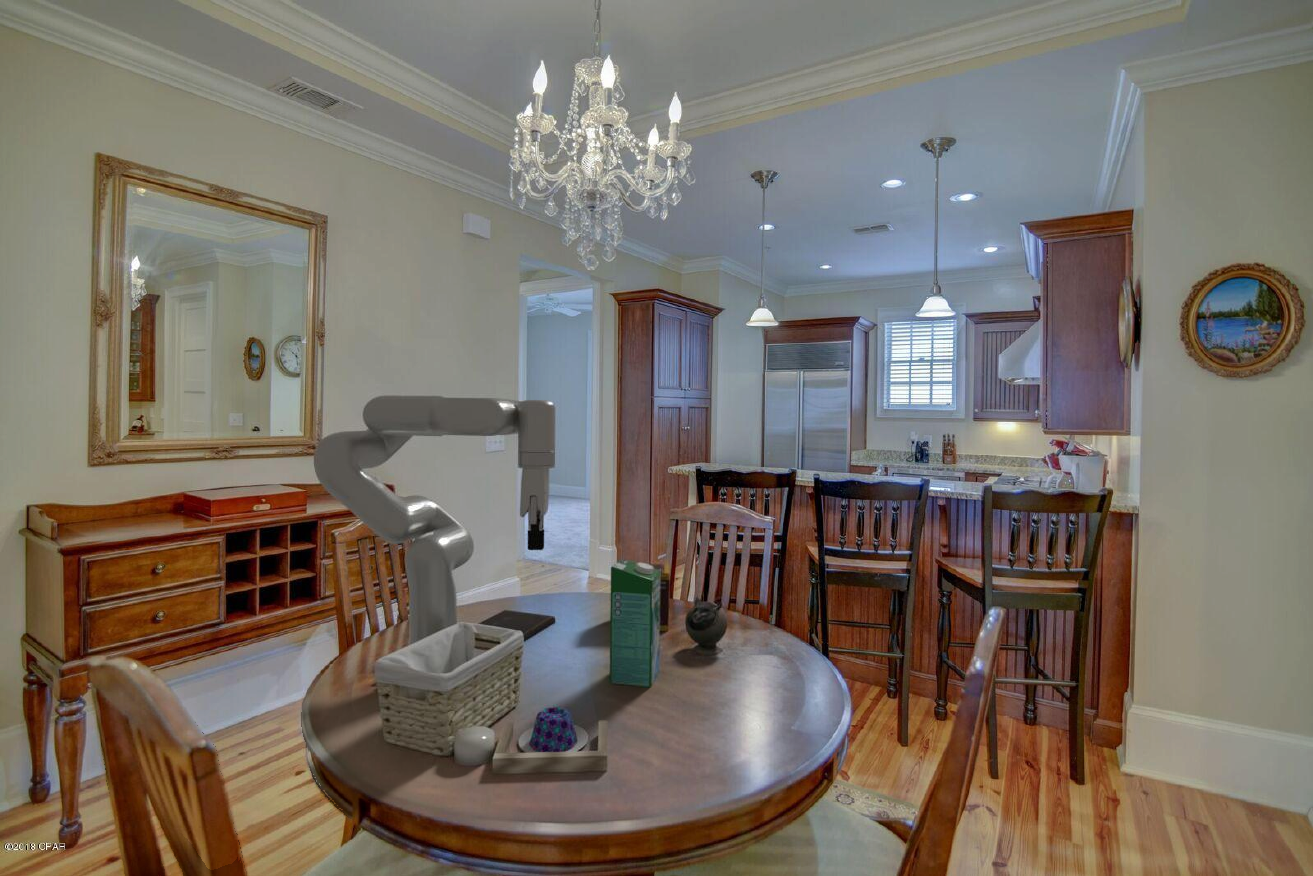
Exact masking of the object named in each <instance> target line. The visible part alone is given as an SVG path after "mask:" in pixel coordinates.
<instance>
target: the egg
mask: <svg viewBox="0 0 1313 876" xmlns="http://www.w3.org/2000/svg"><path fill="white" fill-rule="evenodd" d="M494 753H495V731H494V730H493V729H491V728H490V727H489V726H488V727H481V726H478V727H470V728H466V729H464V730H461V731H460V732H458V733H457V734H456V735H455V737H454V752H453V759H454V762H455V763H456V764H457V765H459V766H461V767H476V766H477V767H478V766H480V765H484V764H486V763H488V762H489V761H491V760H493V756H494Z"/></svg>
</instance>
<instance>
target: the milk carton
mask: <svg viewBox="0 0 1313 876" xmlns="http://www.w3.org/2000/svg"><path fill="white" fill-rule="evenodd" d="M660 582H661V570H658V569H655V568H654V567H653V566H651V565H649V563H645V562H636V561H633V560H629V559H626V558H625V557H624V558H623V557H622V558H620V559H619V560H618V561H616V563H614V564H613V565H612V566H611V567H610V621H609V623H610V627H609V629H610V631H609V635H610V636H609V684H618V685H626V686H627V685H629V686H638V687H646V688H647V687H648V688H651V687H652V686H653V683H654V682H655V679H656V678H657V675H658V674H659V672H660V648H661V647H660V646H661V645H660V644H661V643H660V642H661V637H660V636H661V631H660Z"/></svg>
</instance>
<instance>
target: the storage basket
mask: <svg viewBox="0 0 1313 876" xmlns="http://www.w3.org/2000/svg"><path fill="white" fill-rule="evenodd" d="M475 638H481V639H488V640H493V641H499V642H500V644H499V645H497V646H495V647H493V648H489V649H488V650H486V649H479V648H475V647H476V646H475ZM524 645H525V642H524V638H523V633H522V632H521V631H519V630H518V631H516V630H512V629H506V628H501V627H495V626H488V625H482V624H478V623H470V622H464V621H459V622H457V624H455V625H453V626H450V627H448V628H446V629H443V630H441V631H439V632H437V633H435V634H432V635H430V636H428V637H426V638H424V639H422V640H420V641H418V642H416V643H413V644H411V645H407V646H405V647H402V648H400V649H397V650H395V651H394V652H391V653H389V654H387V655H384V656H382V657H379V658H378V659H377V660H376V661H375V662H374V665H373V669H374V681H375V682H376V688H377V694H378V702H379V703H378V704H379V705H378V706H379V707H380V710H379V711H380V712H379V713H380V719H381V724H382V732H383V733H382V734H383V735H382V736H383V739H384V740H385V742H387V743H389V744H392V745H397V746H400V747H404V748H408V749H410V750H415V751H420V752H422V753H428V754H431V755H434V756H441V757H447V756H451V755H452V754H454V737H455V735H456V734H457V733H458V732H460V731H461V730H464V729H466V728H470V727H478V726H481V727H488V728H489V726H491V725H492V724H494V723H495V722H496V721H498V719H499V718H501V717H504V716H505V714H506V713H508V712H509V711H511V710H512V709H513V708H515V706H518V705H519V703H520V702H521V700H520V691H521V690H520V689H521V677H522V662H523V661H522V660H523V655H524Z"/></svg>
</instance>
